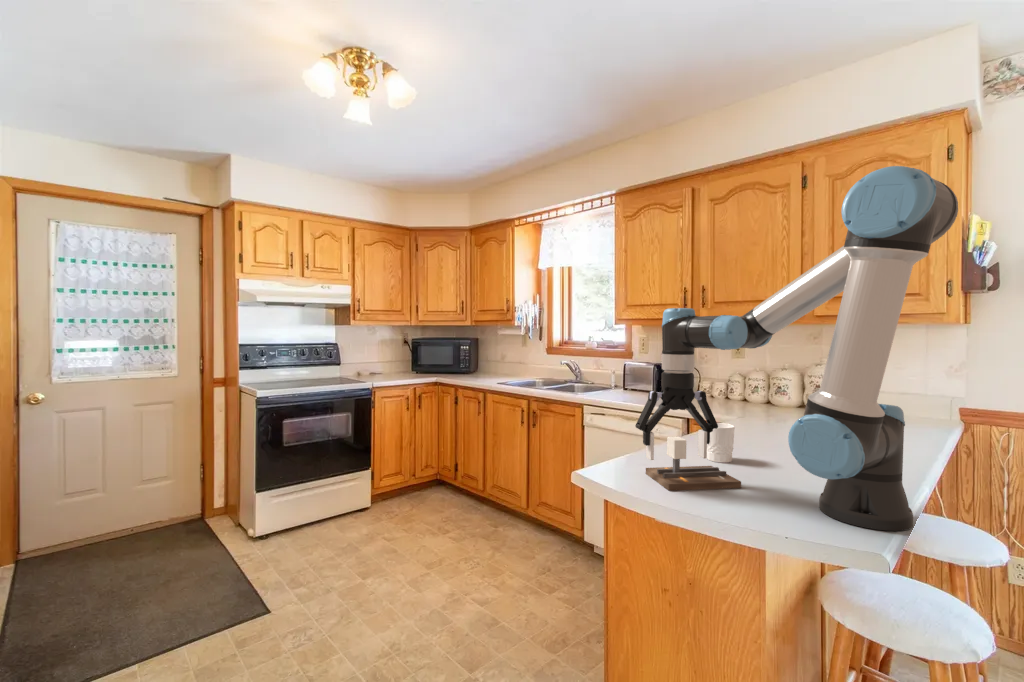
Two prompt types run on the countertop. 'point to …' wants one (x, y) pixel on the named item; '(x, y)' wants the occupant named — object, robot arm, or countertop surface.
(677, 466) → the block
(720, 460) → the white cup
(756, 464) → the countertop surface
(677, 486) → the board
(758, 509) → the countertop surface
